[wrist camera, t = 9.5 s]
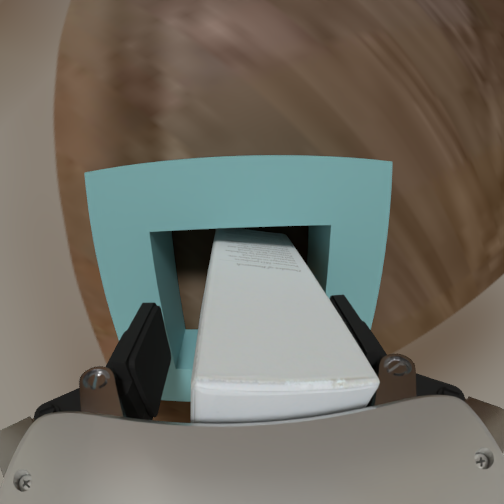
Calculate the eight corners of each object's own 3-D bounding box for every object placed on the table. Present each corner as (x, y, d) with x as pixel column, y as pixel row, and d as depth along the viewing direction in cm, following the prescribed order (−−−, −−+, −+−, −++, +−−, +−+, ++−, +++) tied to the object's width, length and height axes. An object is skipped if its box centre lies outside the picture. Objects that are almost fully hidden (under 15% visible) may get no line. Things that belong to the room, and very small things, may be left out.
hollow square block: (358, 158, 15) (392, 161, 11) (337, 352, 20) (354, 388, 16) (118, 166, 14) (84, 172, 11) (153, 360, 19) (141, 398, 15)
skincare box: (272, 318, 18) (310, 489, 7) (207, 312, 18) (189, 490, 6) (289, 230, 16) (389, 382, 5) (215, 221, 16) (181, 381, 4)
